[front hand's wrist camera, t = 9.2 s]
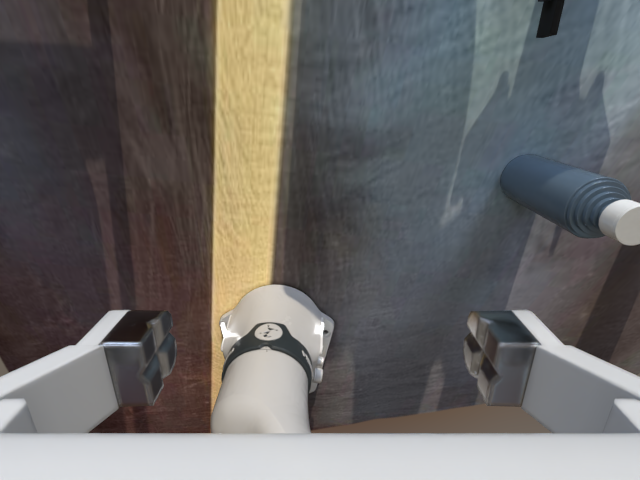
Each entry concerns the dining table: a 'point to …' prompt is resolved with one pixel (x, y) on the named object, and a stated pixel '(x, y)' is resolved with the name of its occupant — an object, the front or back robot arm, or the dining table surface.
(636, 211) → the cap
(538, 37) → the back robot arm
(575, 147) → the dining table surface
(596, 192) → the bottle
